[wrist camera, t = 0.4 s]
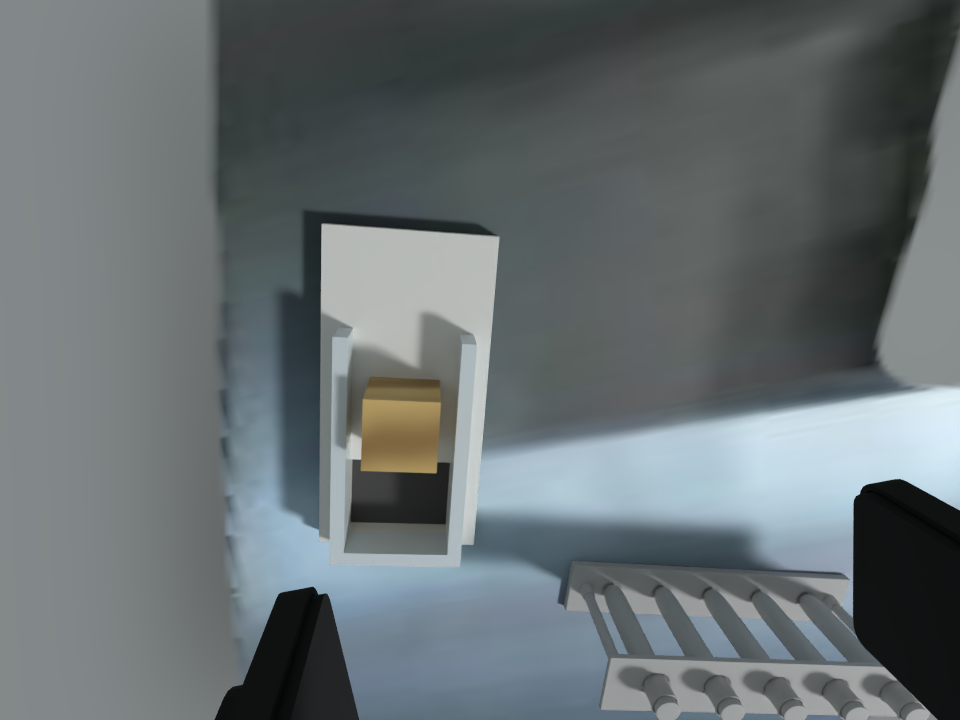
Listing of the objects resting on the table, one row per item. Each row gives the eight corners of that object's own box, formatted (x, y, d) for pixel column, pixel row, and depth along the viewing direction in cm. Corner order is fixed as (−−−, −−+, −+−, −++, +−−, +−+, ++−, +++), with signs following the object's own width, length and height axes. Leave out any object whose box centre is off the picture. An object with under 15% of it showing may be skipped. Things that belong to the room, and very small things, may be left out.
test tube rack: (844, 574, 53) (975, 692, 40) (831, 616, 54) (955, 744, 41) (571, 559, 50) (620, 682, 38) (563, 605, 51) (608, 738, 39)
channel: (325, 223, 41) (313, 225, 37) (496, 235, 42) (504, 239, 38) (322, 531, 47) (311, 564, 43) (472, 534, 49) (476, 567, 44)
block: (369, 376, 43) (362, 399, 38) (439, 379, 43) (441, 402, 39) (368, 441, 44) (360, 470, 39) (435, 443, 45) (436, 473, 40)
